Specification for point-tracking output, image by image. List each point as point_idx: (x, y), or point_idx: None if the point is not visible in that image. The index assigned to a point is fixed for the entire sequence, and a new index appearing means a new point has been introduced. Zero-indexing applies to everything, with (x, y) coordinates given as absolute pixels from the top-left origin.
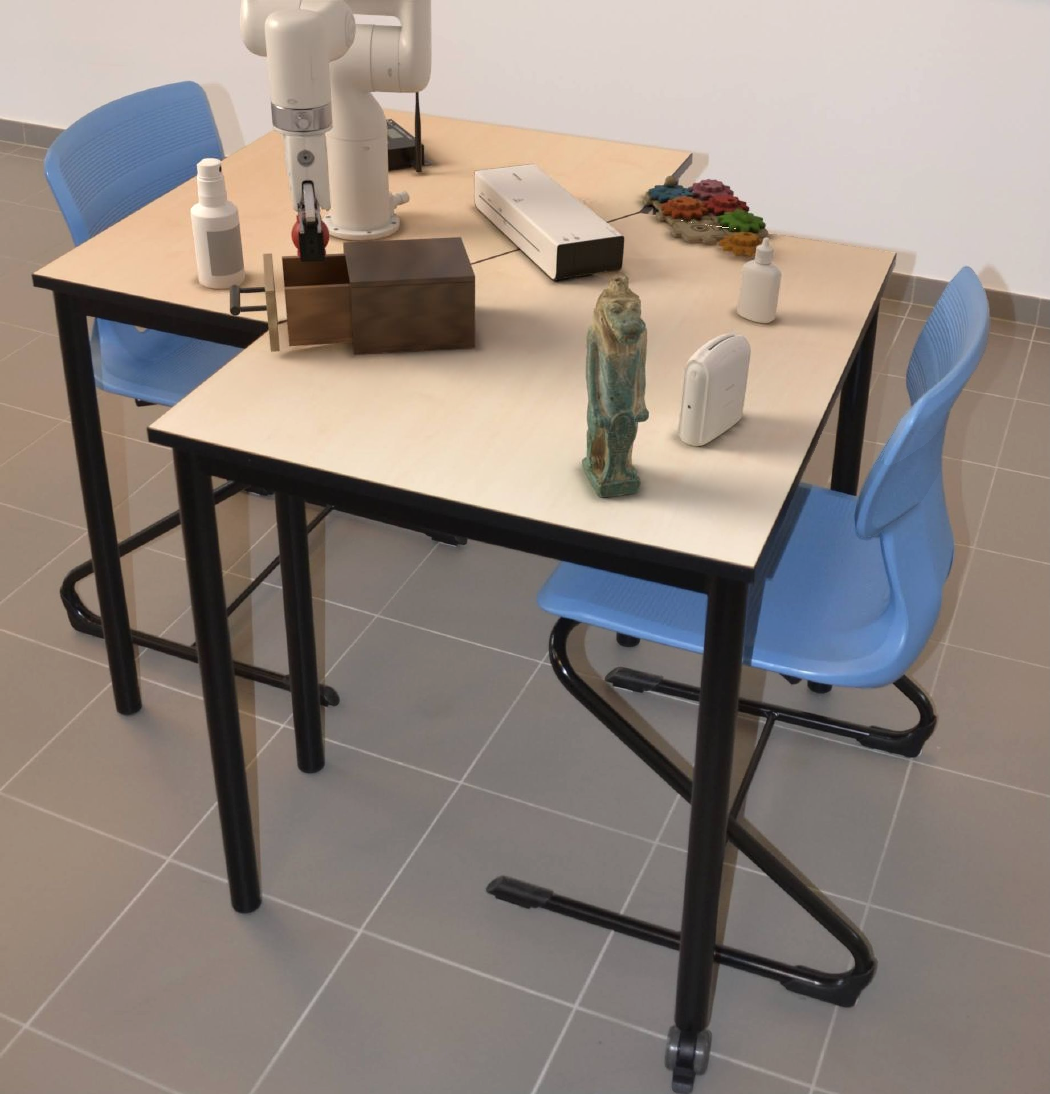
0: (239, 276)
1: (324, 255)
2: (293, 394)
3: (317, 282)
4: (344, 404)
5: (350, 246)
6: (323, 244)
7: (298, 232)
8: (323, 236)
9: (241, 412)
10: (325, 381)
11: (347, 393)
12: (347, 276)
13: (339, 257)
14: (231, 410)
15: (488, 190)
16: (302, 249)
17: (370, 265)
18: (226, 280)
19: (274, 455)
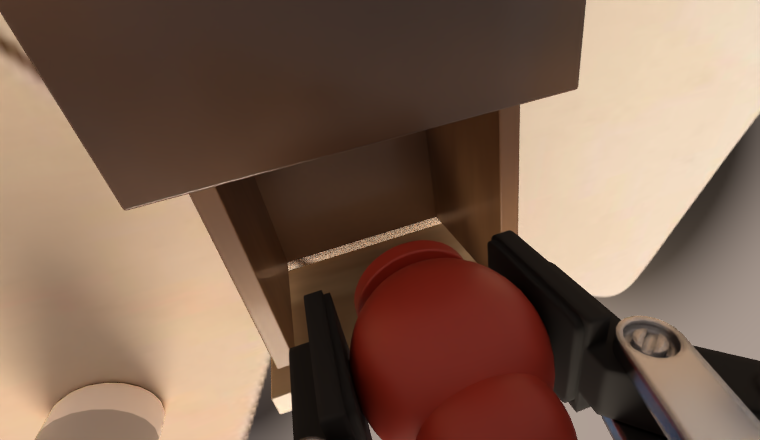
0: (114, 398)
1: (520, 238)
2: (579, 156)
3: (259, 226)
4: (636, 51)
5: (173, 162)
6: (557, 270)
7: (586, 407)
8: (521, 298)
9: (612, 218)
10: (546, 107)
11: (599, 51)
12: None
13: (220, 193)
14: (603, 233)
15: None
16: None
17: (412, 10)
18: (149, 408)
19: (735, 141)
